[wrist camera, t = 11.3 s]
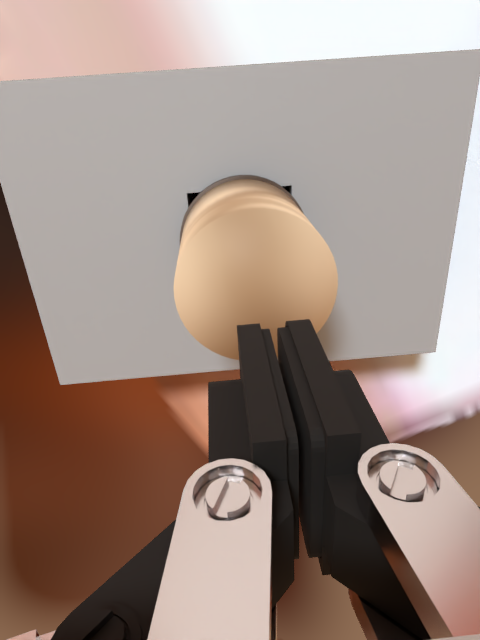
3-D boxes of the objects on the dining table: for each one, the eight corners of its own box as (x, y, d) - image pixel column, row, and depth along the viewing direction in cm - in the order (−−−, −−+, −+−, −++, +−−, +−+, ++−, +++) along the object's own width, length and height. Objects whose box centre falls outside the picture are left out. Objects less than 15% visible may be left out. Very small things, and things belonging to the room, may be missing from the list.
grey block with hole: (437, 56, 21) (483, 48, 18) (405, 318, 28) (435, 352, 24) (11, 85, 21) (-29, 83, 17) (79, 346, 27) (60, 384, 23)
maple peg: (294, 160, 22) (344, 198, 14) (295, 270, 25) (337, 356, 17) (176, 168, 22) (159, 212, 14) (190, 279, 24) (181, 370, 16)
